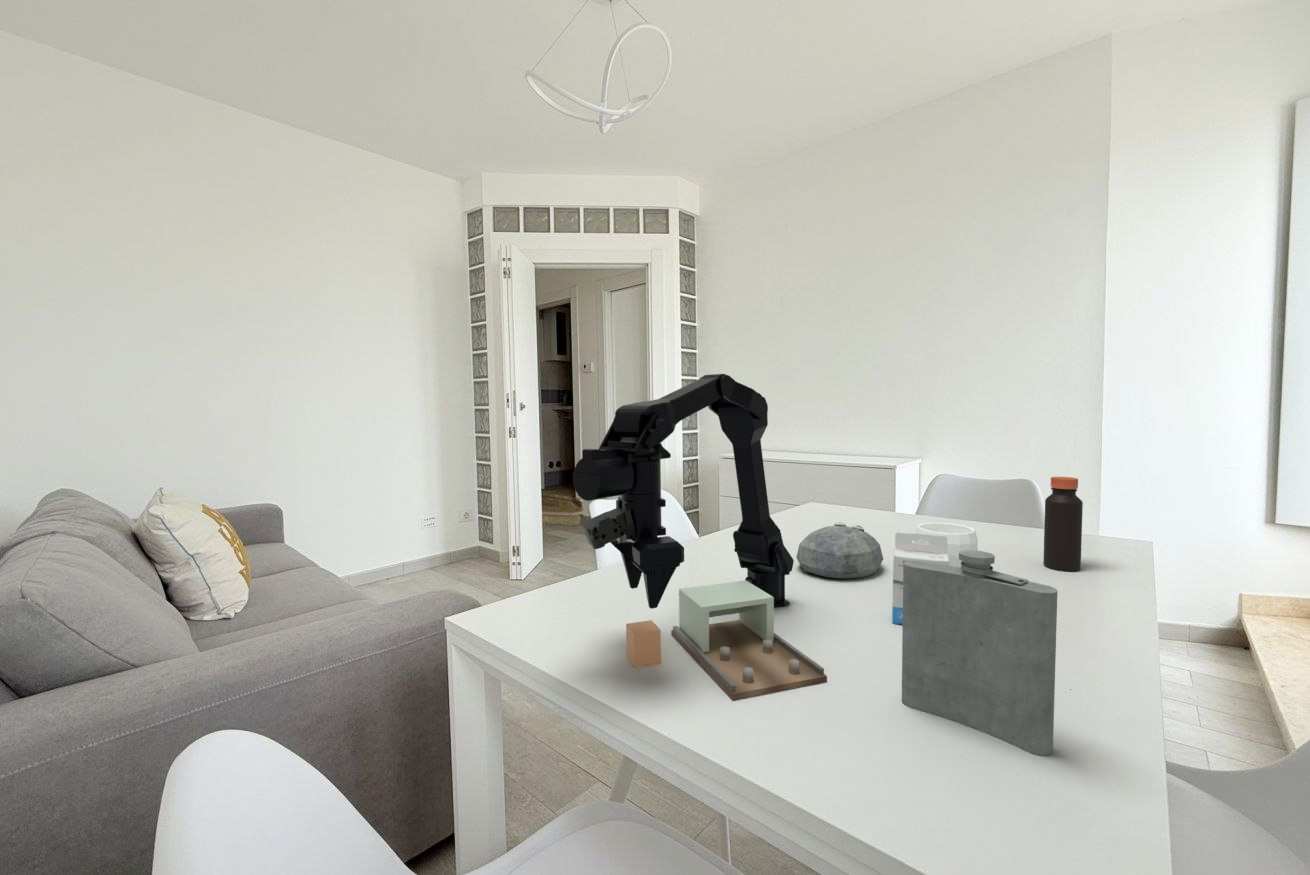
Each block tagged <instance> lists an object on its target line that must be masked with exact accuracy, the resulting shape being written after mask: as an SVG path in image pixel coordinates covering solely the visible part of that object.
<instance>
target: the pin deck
mask: <svg viewBox="0 0 1310 875" xmlns="http://www.w3.org/2000/svg"><path fill="white" fill-rule="evenodd" d="M670 630H671V631H670V632H671V636H672V637H673V638H674V639H675V640H676V641H677V642H678V644H679V645H680V646H681V647H682V648H683V649H684V650H685V651H686V652H687V653H688V654H689V655H690V656H691V658H692V659H694V661H695V662H696V663H697V664H698V665H699V666H700V668H702V669H703V670H704V672H705V673H706V674H707V675H708V676H709V677H710V678H711V679H712V680H713V681H714V682H715V683H716V684H717V686H718V687H720V689H722V690H723V692H724V693H725V694H726V695H727V696H728V697H729V698H730V699H731V700H732V701H735V700H736V701H737V700H741V699H747V698H751V697H756V696H757V697H758V696H762V695H767V694H771V693H777V692H782V691H786V690H790V689H792V690H793V689H796V688H801V687H807V686H811V685H817V684H822V683H827V682H828V680H827V679H828V676H827V675H826V674H825V668H824V667H823V666H821V665H820V664H818V663H817V662H816V661H814V660H813V659H811V658H810V657H809V656H808V655H806V654H804V653H803V652H802V651H800V650H799V649H798V648H796V647H795V646H794V645H792V644H791V643H789V642H788V641H787V640H785V639H783V638H782V637H781V636H779V635H778V634H777V633H775V632H774V641H772V640H769V639H765V640H764V639H762V638H761V637H760V636H758V635H757V634H756V633H754V632H753V631H752V630H751V629H749V628H748V627H747V626H745V625H744V624H743V623H741V622H740V619H737V620H736V619H734V620H730V621H722V622H717V623H709V652H704V653H703V652H702V651H701V650H700V649H699V648H698V647H697V646H696V645H695V644H694V643H693V642H692V641H691V640H690V639H689V638H688V637H687V636H686V635H685V634H684V633H683V632H682V631H681V630H680V629H679V626H678V625H672V629H670Z"/></svg>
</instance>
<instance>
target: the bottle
mask: <svg viewBox="0 0 1310 875" xmlns="http://www.w3.org/2000/svg"><path fill="white" fill-rule="evenodd" d="M1078 489H1079V478H1077V477H1071V476H1052V477H1050V490H1051V493H1050V495H1048V496H1047V497H1046V498H1045V499H1044V530H1043V533H1044V536H1043V561H1042V562H1043V566H1044V567H1045V568H1048V567H1049V568H1048V569H1051V568H1052V569H1051V570H1055V569H1056V570H1055V571H1060V570H1063V571H1062V572H1078V571H1080V570H1081V568H1082V536H1083V534H1082V533H1083V507H1084V506H1083V505H1084V502H1083V501H1082V499H1081V498H1079V496H1077V492H1078Z"/></svg>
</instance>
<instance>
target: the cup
mask: <svg viewBox="0 0 1310 875" xmlns="http://www.w3.org/2000/svg"><path fill="white" fill-rule="evenodd" d="M914 533H918V534H930V535H941V536H946V537H947V554H948V557H949V566H954V567H960V568H961V562H962V561H961V560H959V551H963V550H977V551H978V543H979V542H978V541H979V540H978V537H977V533H976V530H975V528H973V527H970V526H967V525H963V524H957V523H949V522H924V523H920V524H918V525H917V526H916V529H915V532H914ZM913 541H914V542H913V543H915V544H926V545H929V544H930V542H929V541H924V540H922V539H919V540H913Z"/></svg>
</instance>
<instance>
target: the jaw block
mask: <svg viewBox="0 0 1310 875" xmlns="http://www.w3.org/2000/svg"><path fill="white" fill-rule="evenodd" d="M625 625H626V626H625V628H626V629H625V632H626V633H625V635H626V657H627V659H628V660H629V661H630V662H629V663H631V665H632V666H633V668H634V669H635V668H642V667H647V666H654V665H660V664H662V654H661V653H662V647H661V644H662V641H661V640H662V638H661V637H662V636H661V633H662V632H661V628H660V627H659V626H658V625H657V624H656V623H655V622H654V621H653V620H652V619H651V620H650V619H649V620H643V621H637V622H629V623H626V624H625Z"/></svg>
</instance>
